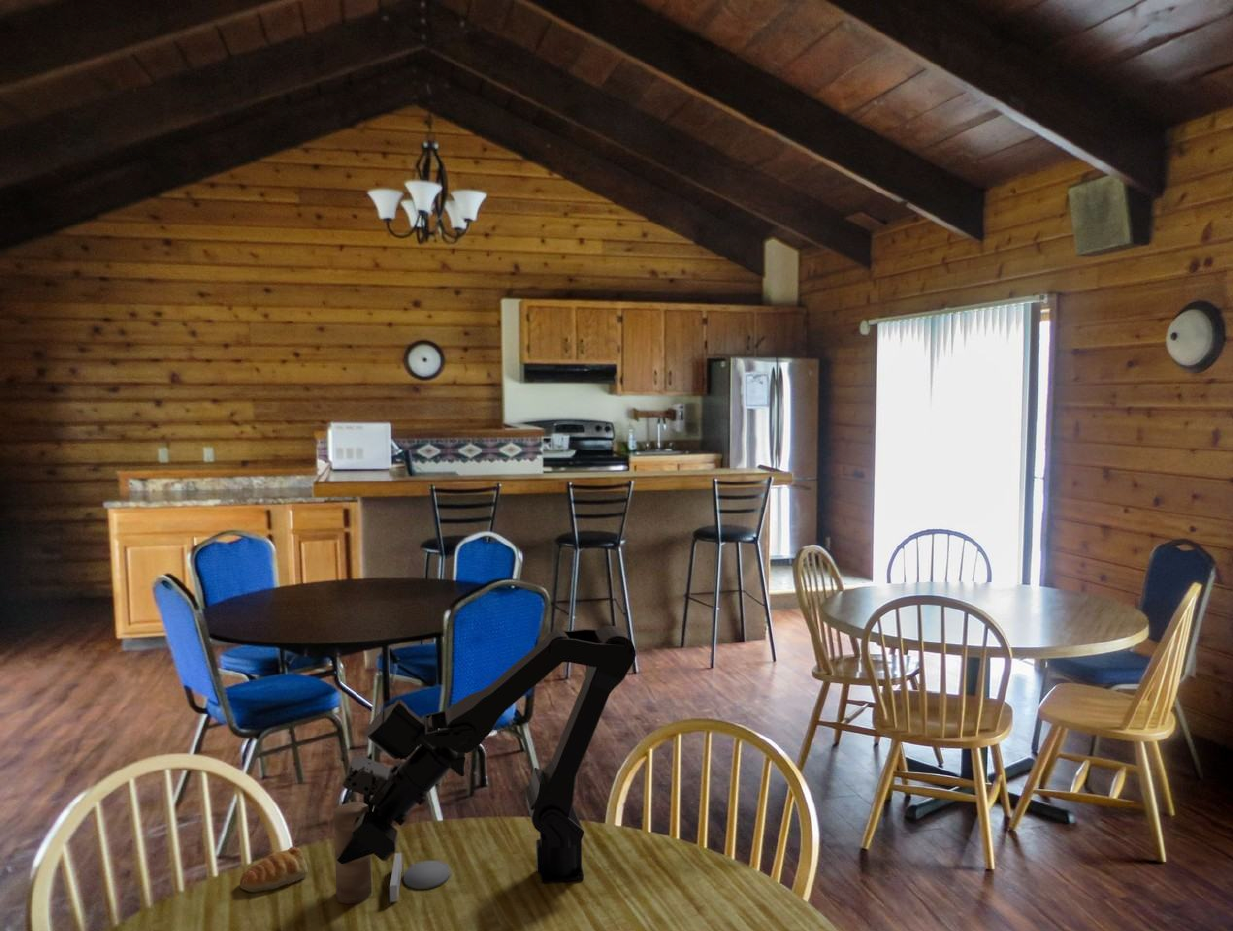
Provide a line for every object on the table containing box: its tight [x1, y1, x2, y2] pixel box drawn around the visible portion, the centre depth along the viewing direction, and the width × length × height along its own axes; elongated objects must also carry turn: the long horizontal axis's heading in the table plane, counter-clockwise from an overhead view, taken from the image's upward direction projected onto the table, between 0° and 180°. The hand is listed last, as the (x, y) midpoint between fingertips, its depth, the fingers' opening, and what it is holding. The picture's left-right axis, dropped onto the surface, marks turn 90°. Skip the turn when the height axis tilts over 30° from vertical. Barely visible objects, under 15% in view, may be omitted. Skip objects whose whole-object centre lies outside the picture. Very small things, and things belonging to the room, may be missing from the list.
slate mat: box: [403, 860, 451, 890], centre depth 136 cm, size 7×7×1 cm
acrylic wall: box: [389, 852, 403, 903], centre depth 133 cm, size 1×9×2 cm, turn 9°
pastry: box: [239, 846, 309, 893], centre depth 135 cm, size 9×7×4 cm
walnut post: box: [333, 801, 372, 905], centre depth 130 cm, size 5×5×13 cm
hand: (342, 852), depth 130 cm, fingers closed on walnut post, 5 cm apart
